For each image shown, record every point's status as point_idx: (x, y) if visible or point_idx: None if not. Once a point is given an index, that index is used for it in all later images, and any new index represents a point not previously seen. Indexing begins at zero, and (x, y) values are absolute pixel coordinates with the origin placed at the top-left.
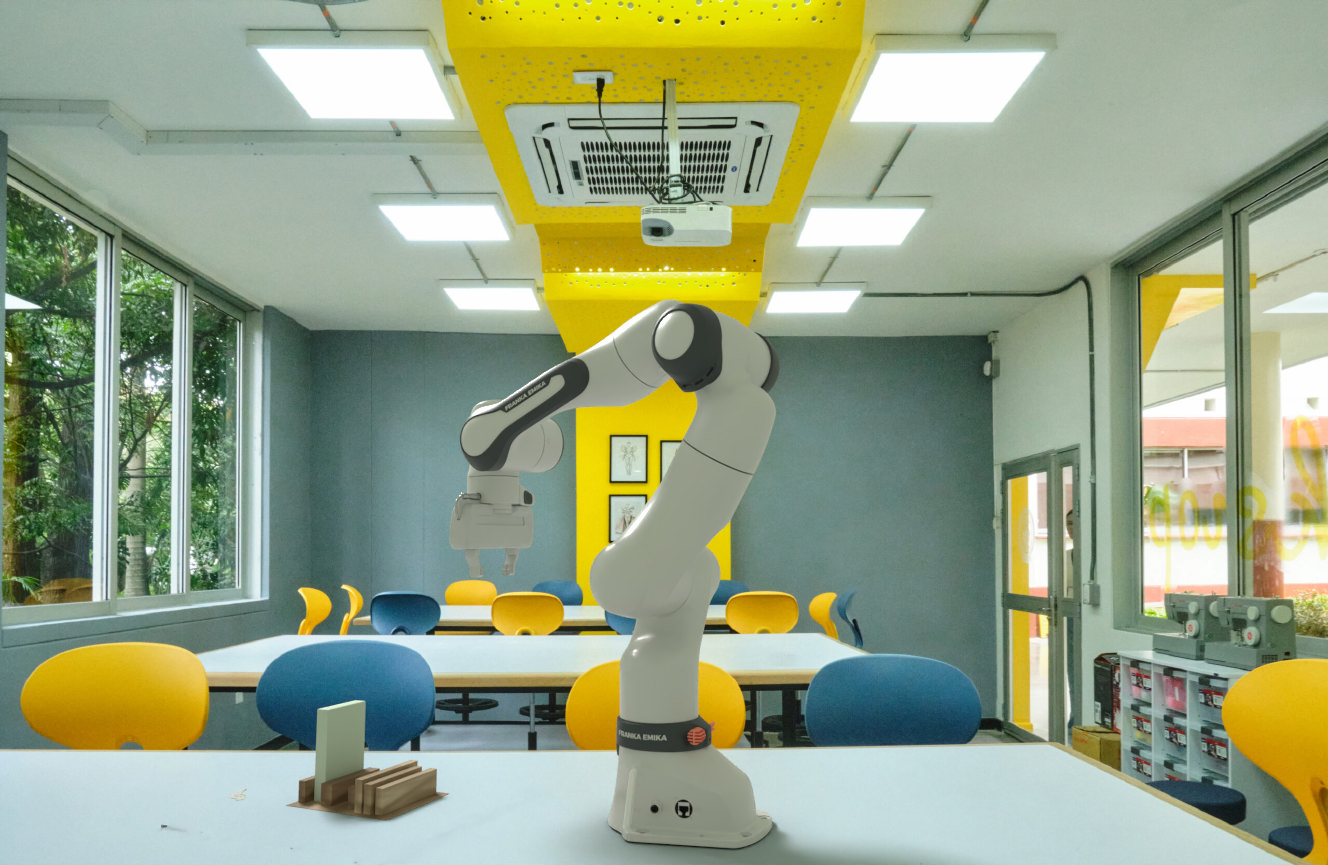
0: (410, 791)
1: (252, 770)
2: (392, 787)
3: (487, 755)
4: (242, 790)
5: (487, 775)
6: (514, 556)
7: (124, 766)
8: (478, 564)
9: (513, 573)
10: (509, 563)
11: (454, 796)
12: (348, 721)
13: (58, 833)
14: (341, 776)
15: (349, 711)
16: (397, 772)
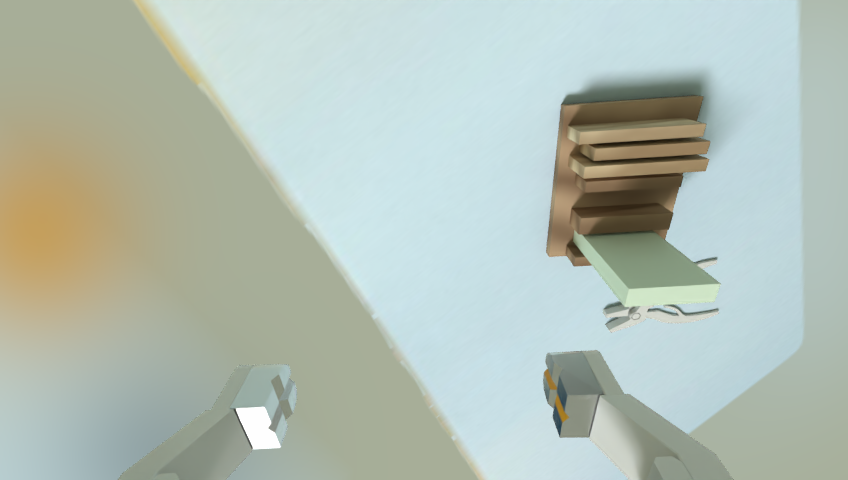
0: (633, 124)
1: (515, 386)
2: (682, 124)
3: (330, 218)
4: (616, 327)
5: (421, 146)
6: (176, 468)
7: (543, 470)
8: (633, 402)
9: (249, 366)
10: (234, 435)
11: (534, 116)
12: (654, 272)
13: (744, 363)
14: (626, 234)
15: (661, 280)
16: (636, 156)
